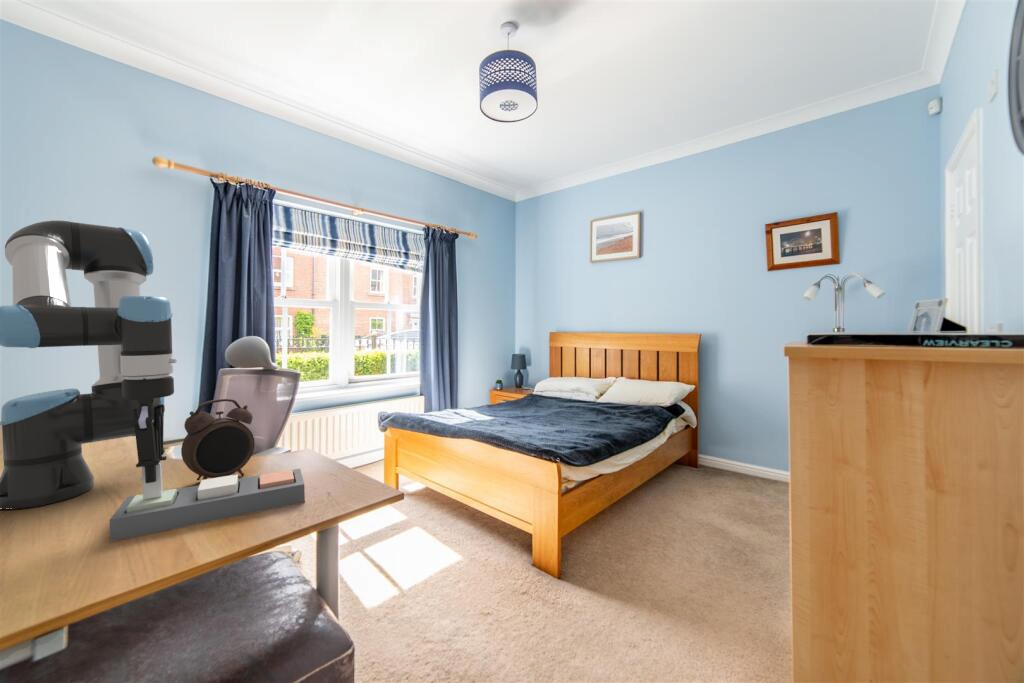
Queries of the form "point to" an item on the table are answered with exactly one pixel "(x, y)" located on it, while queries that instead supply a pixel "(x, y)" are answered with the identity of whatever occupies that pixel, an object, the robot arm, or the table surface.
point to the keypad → (205, 507)
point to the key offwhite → (218, 487)
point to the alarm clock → (217, 442)
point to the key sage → (152, 501)
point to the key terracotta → (276, 479)
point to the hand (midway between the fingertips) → (153, 496)
